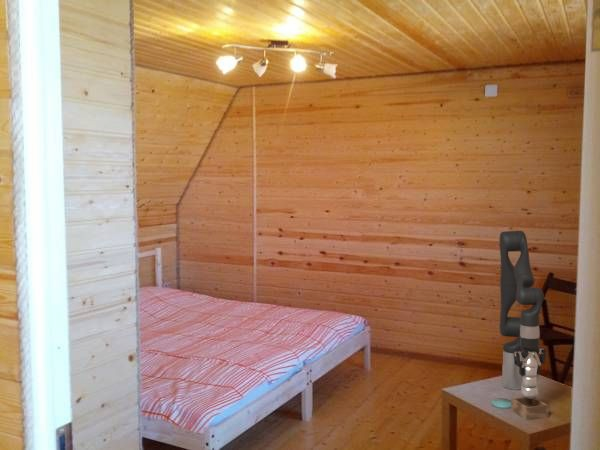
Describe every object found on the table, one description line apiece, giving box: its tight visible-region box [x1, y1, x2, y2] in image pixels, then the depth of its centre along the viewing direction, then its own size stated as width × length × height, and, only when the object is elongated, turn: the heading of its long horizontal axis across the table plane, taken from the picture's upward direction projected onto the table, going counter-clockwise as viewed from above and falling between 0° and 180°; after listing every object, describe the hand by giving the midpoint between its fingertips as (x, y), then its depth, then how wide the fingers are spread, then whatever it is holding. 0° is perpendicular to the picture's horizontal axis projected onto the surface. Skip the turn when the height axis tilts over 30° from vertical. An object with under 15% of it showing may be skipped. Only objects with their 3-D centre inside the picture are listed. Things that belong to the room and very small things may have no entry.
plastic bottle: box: [520, 351, 539, 399], centre depth 250 cm, size 6×7×20 cm
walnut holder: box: [510, 396, 549, 421], centre depth 251 cm, size 11×10×5 cm
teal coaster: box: [491, 397, 511, 410], centre depth 261 cm, size 9×9×1 cm
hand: (529, 374), depth 250 cm, fingers closed on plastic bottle, 6 cm apart
